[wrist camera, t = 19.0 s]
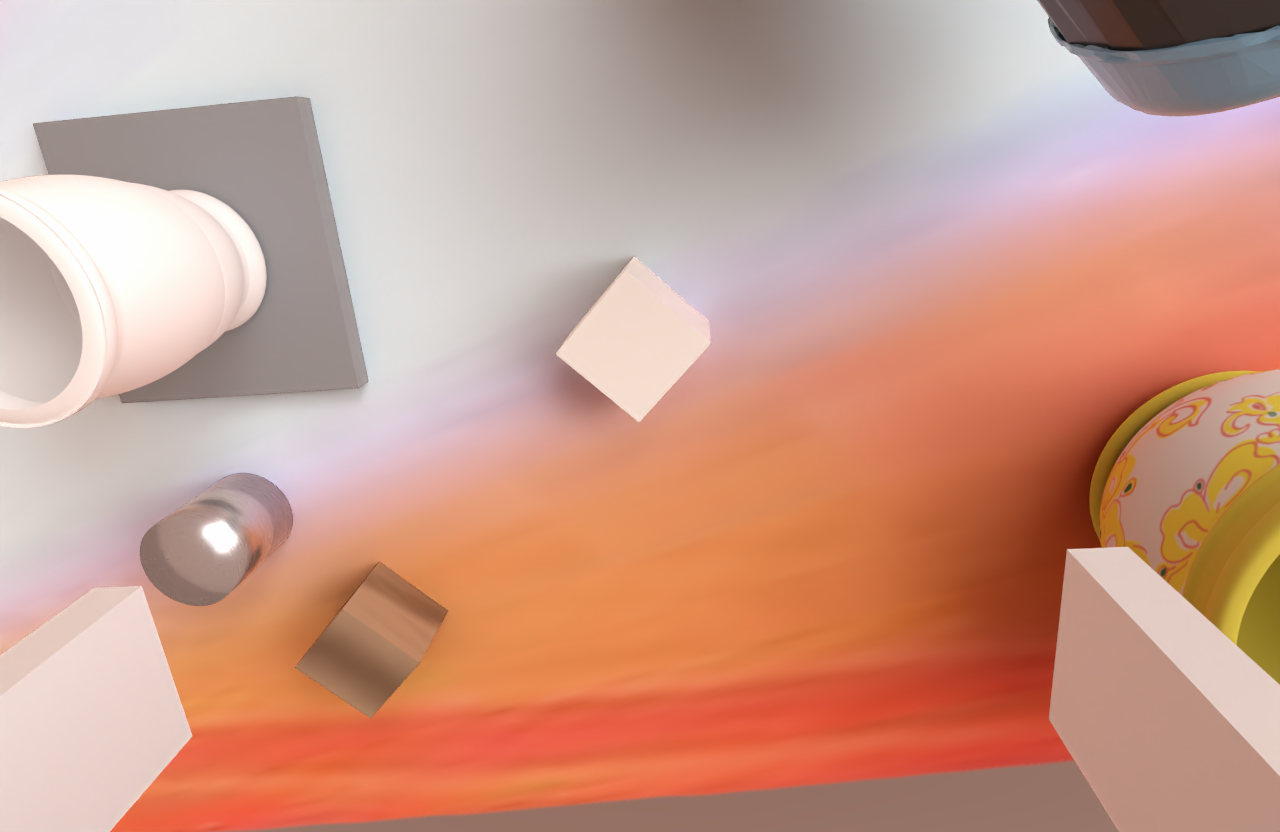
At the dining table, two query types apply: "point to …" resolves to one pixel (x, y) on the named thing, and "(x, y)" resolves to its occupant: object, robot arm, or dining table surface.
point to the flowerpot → (1203, 500)
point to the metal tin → (216, 539)
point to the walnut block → (374, 641)
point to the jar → (112, 288)
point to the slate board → (275, 212)
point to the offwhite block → (636, 340)
